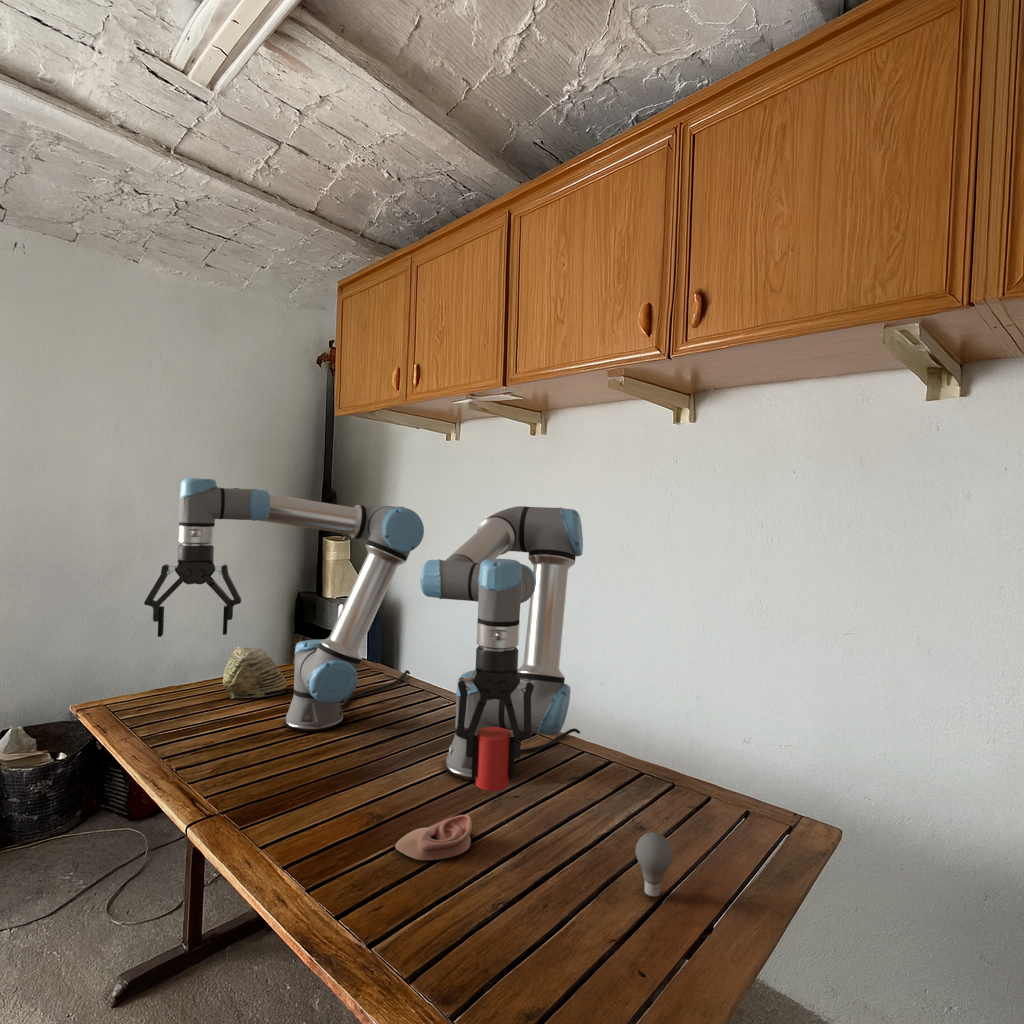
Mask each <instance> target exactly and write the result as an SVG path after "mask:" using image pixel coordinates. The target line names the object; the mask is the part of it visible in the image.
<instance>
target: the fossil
mask: <svg viewBox="0 0 1024 1024" xmlns="http://www.w3.org/2000/svg"><path fill="white" fill-rule="evenodd" d="M222 676H223V677H222V685H223V687H224V688H225V690H226V691H228V693H229V698H230V699H250V698H264V697H271V696H275V695H281V694H284V693H285V691H286V689H287V687H288V686H287V680H286V678H285V676H284V674H283V673H282V672H281V669H279V668H278V667H277V665H276V663H275V662H274V660H273V659H272V658H271V657H270V656H269V655H268V654H267V653H266V652H265V650H264V649H263V648H260V647H258V648H251V647H247V646H246V647H245V646H238V647H237V648H236V649H235V650H233V651H232V653H231V656H230V657H229V659H228V660H227V663H226V666H225V668H224V671H223V675H222Z"/></svg>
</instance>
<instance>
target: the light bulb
mask: <svg viewBox="0 0 1024 1024" xmlns="http://www.w3.org/2000/svg"><path fill="white" fill-rule="evenodd" d="M673 853H674V852H673V848H672V845H671V844H670V842H669V841H668V839H667V838H666V837H665V836H664V835H662V834H661V833H659V832H654V831H652V832H647V833H644V834H643V835H641V837H639V839H638V840H637V842H636V843H635V857H636V860H637V862H638V864H639V866H640V868H641V870H642V877H643V879H644V888H643V890H644V893H645V894H646V895H648V896H650V897H658V896H660V895H661V884H662V882H663V880H664V875H665V873H666V872H667V870H668V869H669V868H670V866H671V864H672V861H673V858H674V857H673V856H674V854H673Z"/></svg>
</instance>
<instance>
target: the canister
mask: <svg viewBox="0 0 1024 1024" xmlns="http://www.w3.org/2000/svg"><path fill="white" fill-rule="evenodd" d="M511 735H512V734H511V730H507V729H504V728H500V727H486V728H482V729H480V730H479V731H478V738H477V763H476V781H475V785H476V787H477V788H479V789H480V790H483V791H487V792H500V791H502V790H505V789H506V788H508V787H509V784H510V779H509V759H510V737H512V736H511Z"/></svg>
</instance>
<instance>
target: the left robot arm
mask: <svg viewBox="0 0 1024 1024" xmlns="http://www.w3.org/2000/svg"><path fill="white" fill-rule="evenodd" d="M179 490H180V491H179V509H178V511H179V514H178V519H179V520H178V538H177V539H178V541H177V542H178V543H180V544H179V546H177V563H176V565H170V564H168V563H165V564H163V565H162V566H161V571H160V575H159V576H158V578H157V580H156V582H155V583H154V585H153V587H152V588H151V590H150V591H149V593H148V595H147V596H146V599H145V600H144V602H143V605H145V606H147V607H148V606H149V607H151V608H152V621H153V623H157V638H162V636H163V635H164V624H165V606H161V605H162V604H163V603H164V602H165V601H166V600H167V599H168V598H169V597H170V596H171V595H172V594H173V593H174V592H175V591H176V590H177V589H178V588H179V587H180V586H181V585H182V584H183V583H184V584H186V585H195V584H196V585H203V584H207V586H209V588H211V589H212V591H213V592H214V593H215V594H216V595H217V596H218V597H219V598H220V600H222V601H223V603H224V604H225V605H224V606H223V618H222V619H223V620H222V635H223V636H227V634H228V621H232V620H233V617H234V607H235V606H236V605H240V604H241V603H242V596H241V595H240V593H239V591H238V590H237V588H236V586H235V584H234V582H233V580H232V577H231V576H230V574H229V566H228V564H223V565H215V563H214V557H215V555H214V554H215V547H214V545H213V544H214V543H215V531H216V529H215V528H216V526H215V525H216V523H215V521H216V520H232V521H233V520H235V521H237V520H238V521H253V522H255V521H258V522H264V523H265V522H266V523H273V524H279V525H286V526H293V527H299V528H307V529H311V530H313V529H314V530H319V531H325V532H326V531H327V532H333V533H340V534H346V535H349V536H350V538H351V539H357V540H361V541H366V543H365V549H366V551H367V555H366V557H365V559H364V560H363V563H362V565H361V568H360V570H359V573H358V574H357V577H356V579H355V580H354V583H353V585H352V587H351V589H350V592H349V593H348V596H347V597H346V600H345V602H344V605H343V607H342V608H341V611H340V613H339V615H338V617H337V619H336V621H335V624H334V626H333V628H332V629H331V632H330V635H329V636H328V637H327V638H324V639H307V640H302V641H299V642H297V643H296V644H295V650H294V672H293V673H294V674H293V695H292V696H293V697H292V699H291V702H290V704H289V708H288V711H287V713H286V715H285V726H286V728H287V729H289V730H291V731H294V732H295V731H296V732H301V733H316V732H325V731H329V730H332V729H335V728H337V727H339V726H340V725H342V723H343V722H344V714H343V709H342V708H345V707H346V705H347V704H348V702H350V701H351V700H353V699H356V698H359V697H361V696H365V695H368V694H372V693H375V692H379V691H381V690H384V689H387V688H390V687H393V686H395V685H396V684H398V683H400V682H401V681H402V680H403V679H404V678H405V677H406V676H407V675H411V672H410V670H409V669H408V670H405V671H404V672H403V673H402V675H400V676H399V677H398V678H397V679H395V680H394V681H392V682H389V683H387V684H384V685H382V686H379V687H375V688H372V689H367V690H365V691H362V692H358V693H355V694H353V693H354V692H355V690H356V688H357V685H358V672H357V671H358V669H359V667H360V665H361V662H362V660H363V656H362V653H361V648H362V646H363V643H364V642H365V639H366V636H367V635H368V632H369V631H370V628H371V626H372V623H373V622H374V619H375V617H376V615H377V613H378V610H379V608H380V606H381V604H382V601H383V599H384V597H385V595H386V593H387V591H388V588H389V586H390V584H391V582H392V579H393V577H394V575H395V573H396V570H397V568H398V567H399V566H401V565H404V564H406V563H407V560H408V558H409V556H410V554H411V552H412V551H414V550H415V549H417V548H418V547H419V546H420V545H421V543H422V541H423V540H424V535H425V526H424V522H423V520H422V518H421V517H420V516H419V514H418V513H417V512H416V511H414V510H412V509H410V508H408V507H404V506H392V505H381V506H380V505H377V506H375V505H374V506H373V505H372V506H371V505H362V504H356V505H355V506H353V507H352V506H346V505H341V504H334V503H330V502H329V503H328V502H322V501H317V500H316V501H315V500H309V499H304V498H298V497H291V496H285V495H281V494H280V495H279V494H274V493H269V492H268V491H267V490H265V489H257V488H239V487H233V488H225V487H218V486H217V481H216V479H214V478H198V477H197V478H196V477H186V478H184V479H182V481H180V489H179ZM173 572H175V573H176V575H177V576H178V578H177V579H176V581H174V582H173V583H172V584H171V586H170V587H169V588H168V589H167V590H166V591H165V592H164V593H163V594H162V595H161V596H160V597H159V598H158V599H157V600H154V599H155V598H156V596H157V595H158V593H159V591H160V589H161V587H162V586H163V584H164V582H165V581H166V579H167V578H168V576H169V575H171V574H172V573H173ZM215 572H217V574H219V575H220V576H222V578H223V581H224V582H225V585H226V586H227V588H228V590H229V593H230V595H231V597H232V598H231V597H230V596H229V595H228V594H227V593H226V592H225V591H224V590H223V588H222V587H221V586H220V585H219V584H218V583H217V582H216V581H215V579H214V578H213V577H212V575H213V574H214V573H215ZM341 702H343V703H342V704H341Z"/></svg>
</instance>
